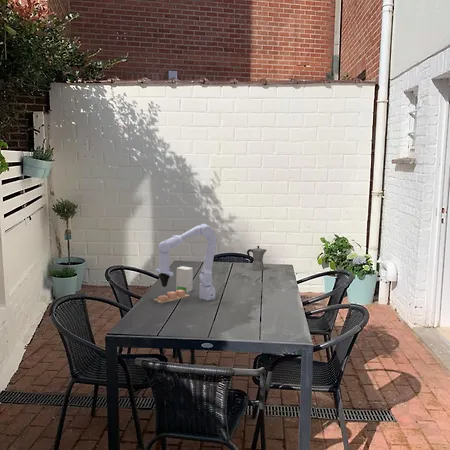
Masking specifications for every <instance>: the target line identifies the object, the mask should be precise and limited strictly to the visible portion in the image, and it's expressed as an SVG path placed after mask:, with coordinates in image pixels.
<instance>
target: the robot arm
mask: <svg viewBox="0 0 450 450" xmlns="http://www.w3.org/2000/svg"><path fill="white" fill-rule="evenodd" d="M201 235H202V236H203V237H204V238H205V240H207V244H206V250H205V254H204V261H203V266H202V268H201V270H200V271H201V272H200V273H199V275H198V280H199V281H200V282H199V285H198V286H199V293H198V298H199V299H200V300H203V301H204V300H205V301H212V300H216V288H215V287H214V286H213V270H212V269H213V265H214V259H215V258H214V257H215V253H216V246H217V241H218V238H217V236H216V233H215V230H214V228H212V226H210V225H208V224H206V223H201V224H200V225H199V224H198V225H195V227H194V226H193V228H191V229H189V230H187V231H185V232H184V233H181V234H180V235H178V234H173V235H172V237H170V238H168V239H167V238H166V239H165V240H162V241H161V242H160V243H159V244H158V245H157V248H158V250H159V252H158V253H159V254H158V268H155V273H158V275H157V276H158V278H159V279H160V282H161V283H160V284H161V287H163V288H166V287H167V286H168V281H169V279H170V277H173V276H174V272H173V271H171V269H170V250H172V249H174V248H175V247H178V246H180V245H181V244H182V243H183V241H185V240H187V239H189V238H191V237H194V236H201Z"/></svg>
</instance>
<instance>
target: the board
mask: <svg viewBox="0 0 450 450" xmlns="http://www.w3.org/2000/svg"><path fill="white" fill-rule="evenodd" d="M190 297H191V296H190V295H189V294H186V293H185V296H182V297H178V296H177V298H173V299H170V298H168V300H164V301H161V300H159V299H158V297H157V298H153V301H154V302H157V303H159V304H165V303H168V302H175V301H179V300H184V299H187V298H190Z"/></svg>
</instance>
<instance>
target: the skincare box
mask: <svg viewBox="0 0 450 450" xmlns="http://www.w3.org/2000/svg"><path fill="white" fill-rule="evenodd" d="M193 269H194V268H193V267H191V266H190V267H189V266H183V265H182V266H179V267H177V268H176V276H175V277H176V279H175V281H176V282H175V291H176V290H184V291H185V294H186V293H190V292H191V291H193V278H194V277H193V275H194V270H193Z"/></svg>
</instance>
